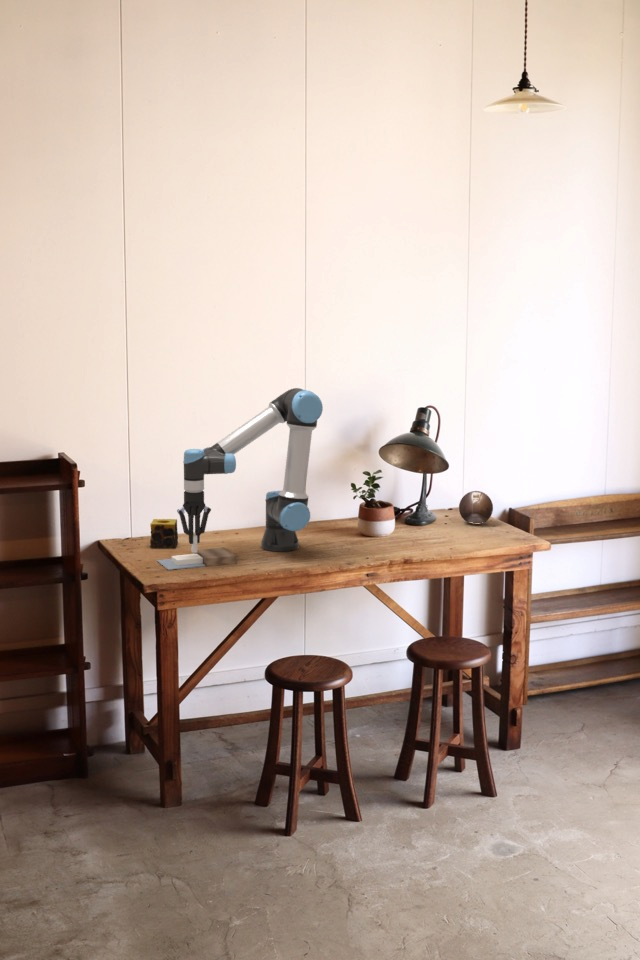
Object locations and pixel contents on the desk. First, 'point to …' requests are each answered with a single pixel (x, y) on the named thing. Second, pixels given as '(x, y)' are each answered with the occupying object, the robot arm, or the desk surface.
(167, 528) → the candle
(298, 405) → the robot arm
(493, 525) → the desk surface
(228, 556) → the deck
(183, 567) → the mat
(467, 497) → the bronze metallic ball
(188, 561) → the tile
